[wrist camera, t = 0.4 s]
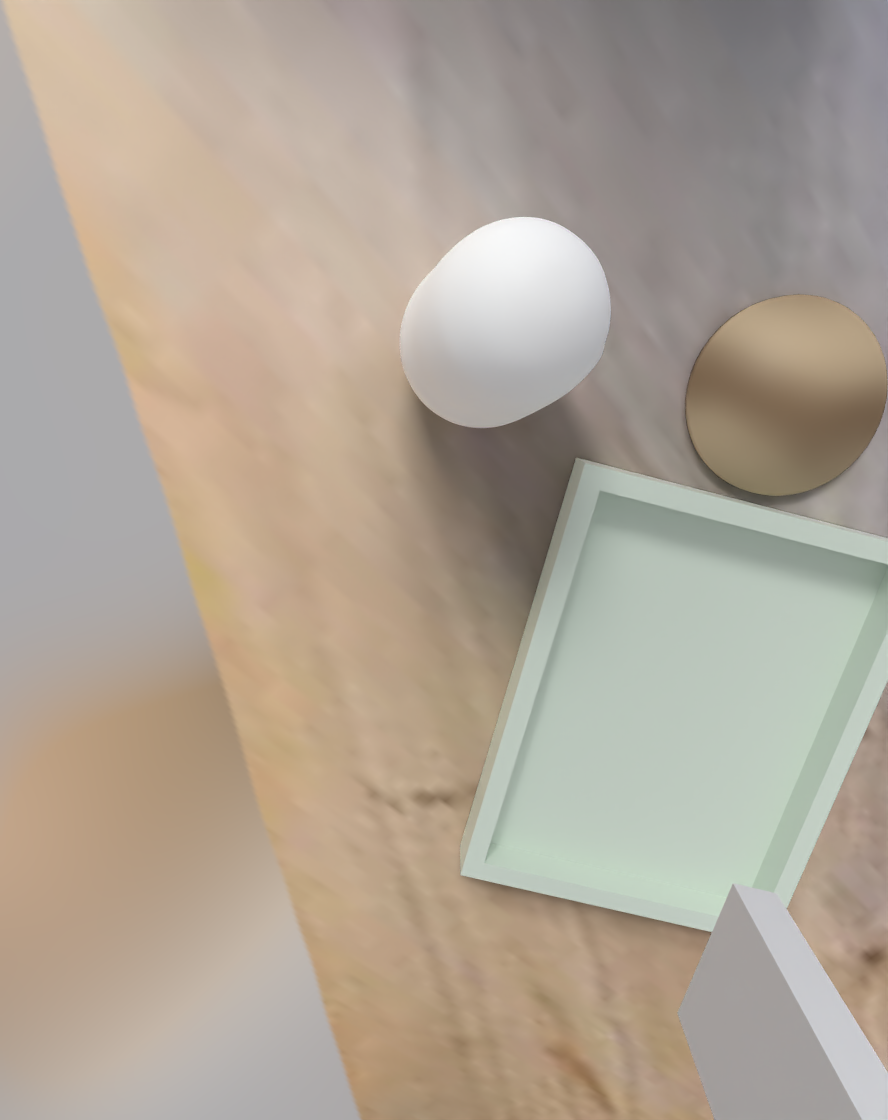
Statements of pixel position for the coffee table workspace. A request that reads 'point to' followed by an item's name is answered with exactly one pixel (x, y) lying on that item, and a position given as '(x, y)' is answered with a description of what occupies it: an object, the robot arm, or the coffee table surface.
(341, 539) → the coffee table surface
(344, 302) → the coffee table surface
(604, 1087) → the coffee table surface
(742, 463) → the metal coaster
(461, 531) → the coffee table surface
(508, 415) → the figurine
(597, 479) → the tray
